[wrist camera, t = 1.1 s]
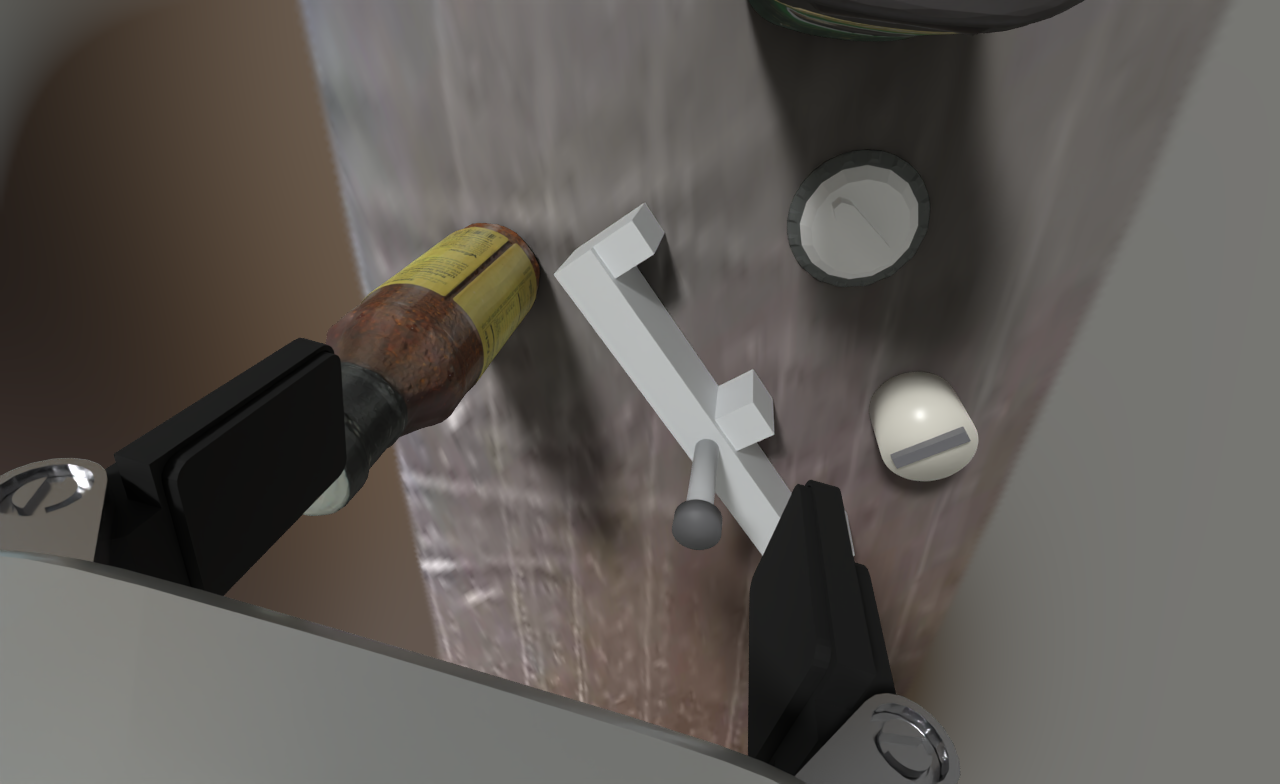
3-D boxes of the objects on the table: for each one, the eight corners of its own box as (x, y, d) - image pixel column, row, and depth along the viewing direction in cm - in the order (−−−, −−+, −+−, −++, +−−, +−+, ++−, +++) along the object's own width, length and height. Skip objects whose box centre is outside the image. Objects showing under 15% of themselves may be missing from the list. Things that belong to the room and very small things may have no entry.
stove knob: (871, 114, 29) (882, 121, 27) (958, 221, 31) (975, 237, 28) (757, 218, 33) (757, 233, 30) (841, 309, 34) (848, 330, 32)
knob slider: (937, 357, 34) (960, 396, 30) (970, 421, 36) (995, 466, 32) (854, 393, 36) (866, 434, 33) (889, 452, 38) (904, 498, 34)
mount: (645, 202, 33) (597, 269, 23) (846, 513, 41) (874, 659, 31) (575, 249, 35) (505, 328, 25) (781, 536, 43) (788, 680, 33)
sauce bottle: (431, 270, 37) (159, 458, 20) (482, 195, 34) (213, 342, 17) (513, 338, 39) (324, 566, 22) (570, 271, 36) (400, 476, 19)
